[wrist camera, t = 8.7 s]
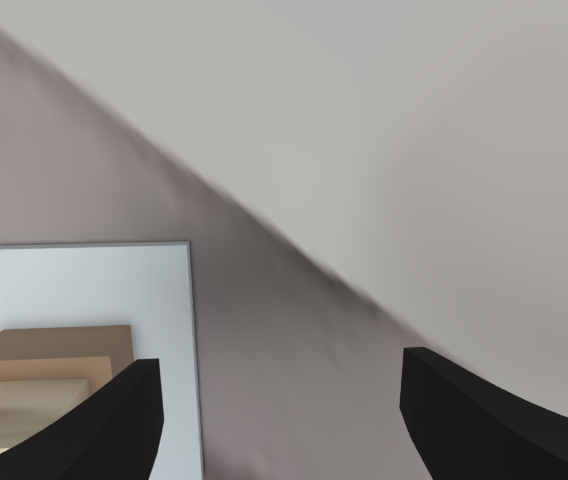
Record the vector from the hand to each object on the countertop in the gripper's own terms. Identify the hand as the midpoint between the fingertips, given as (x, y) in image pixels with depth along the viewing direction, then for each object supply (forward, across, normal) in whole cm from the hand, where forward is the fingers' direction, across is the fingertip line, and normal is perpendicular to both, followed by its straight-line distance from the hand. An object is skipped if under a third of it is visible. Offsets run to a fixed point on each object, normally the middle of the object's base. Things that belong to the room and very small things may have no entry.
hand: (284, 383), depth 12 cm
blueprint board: (+9, +10, +5) cm, 15 cm away
